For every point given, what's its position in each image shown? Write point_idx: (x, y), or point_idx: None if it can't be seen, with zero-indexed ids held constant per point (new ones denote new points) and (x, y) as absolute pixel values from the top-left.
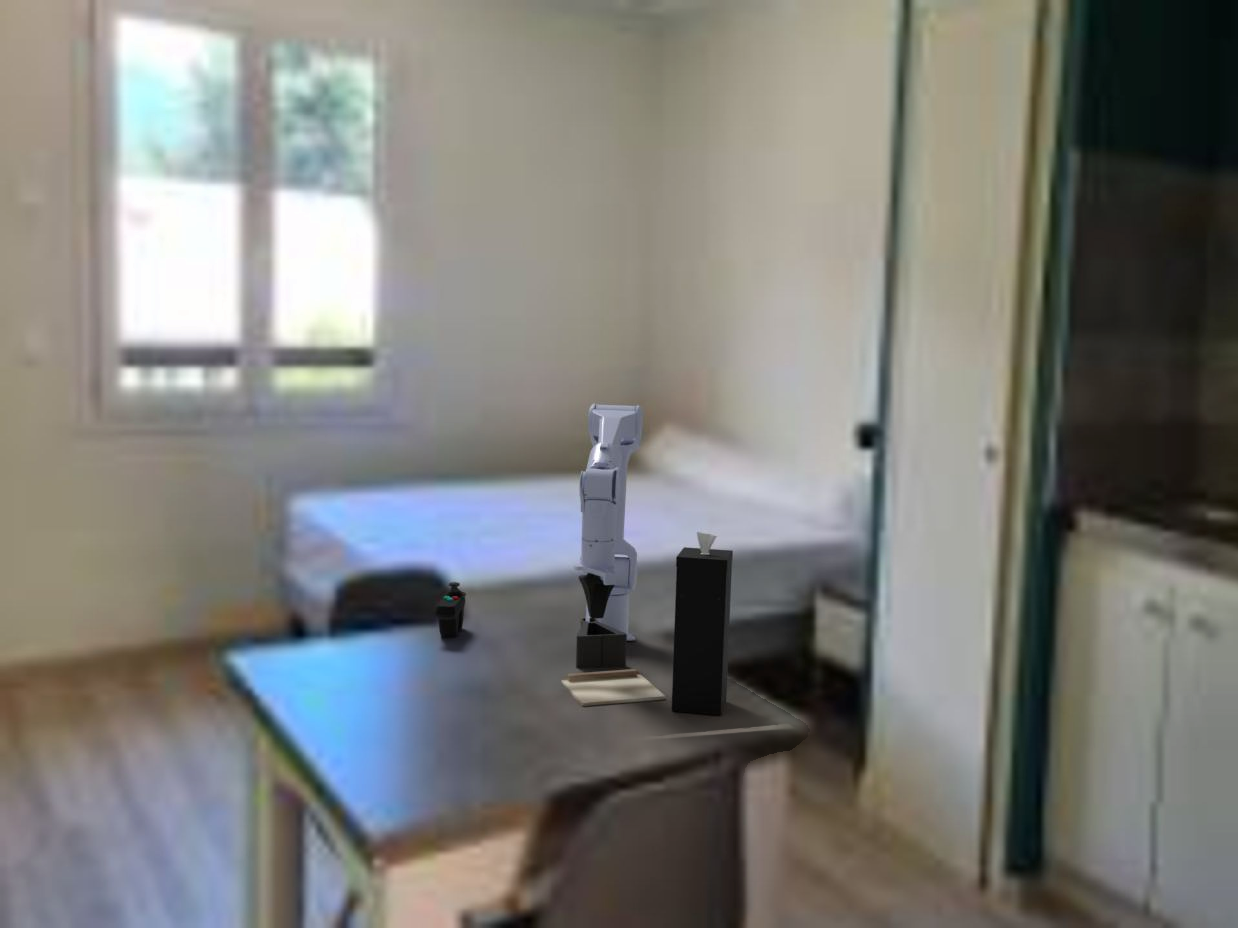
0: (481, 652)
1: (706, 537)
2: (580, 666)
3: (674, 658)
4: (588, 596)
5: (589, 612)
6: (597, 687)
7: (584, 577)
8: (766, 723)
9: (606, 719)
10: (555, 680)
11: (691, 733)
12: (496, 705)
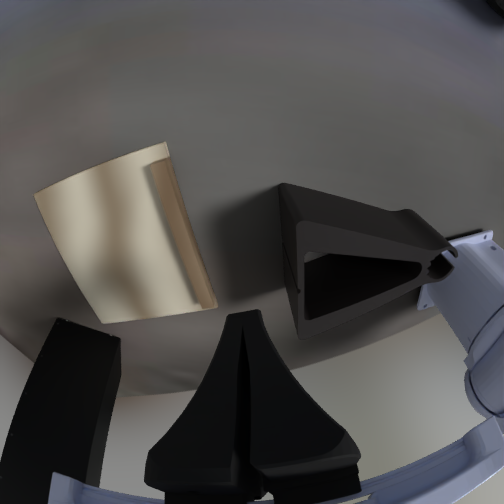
0: (424, 2)
1: None
2: (279, 196)
3: (28, 379)
4: (217, 388)
5: (241, 324)
6: (119, 224)
7: (233, 486)
8: None
9: (3, 231)
10: (188, 126)
11: (10, 318)
12: (32, 33)
